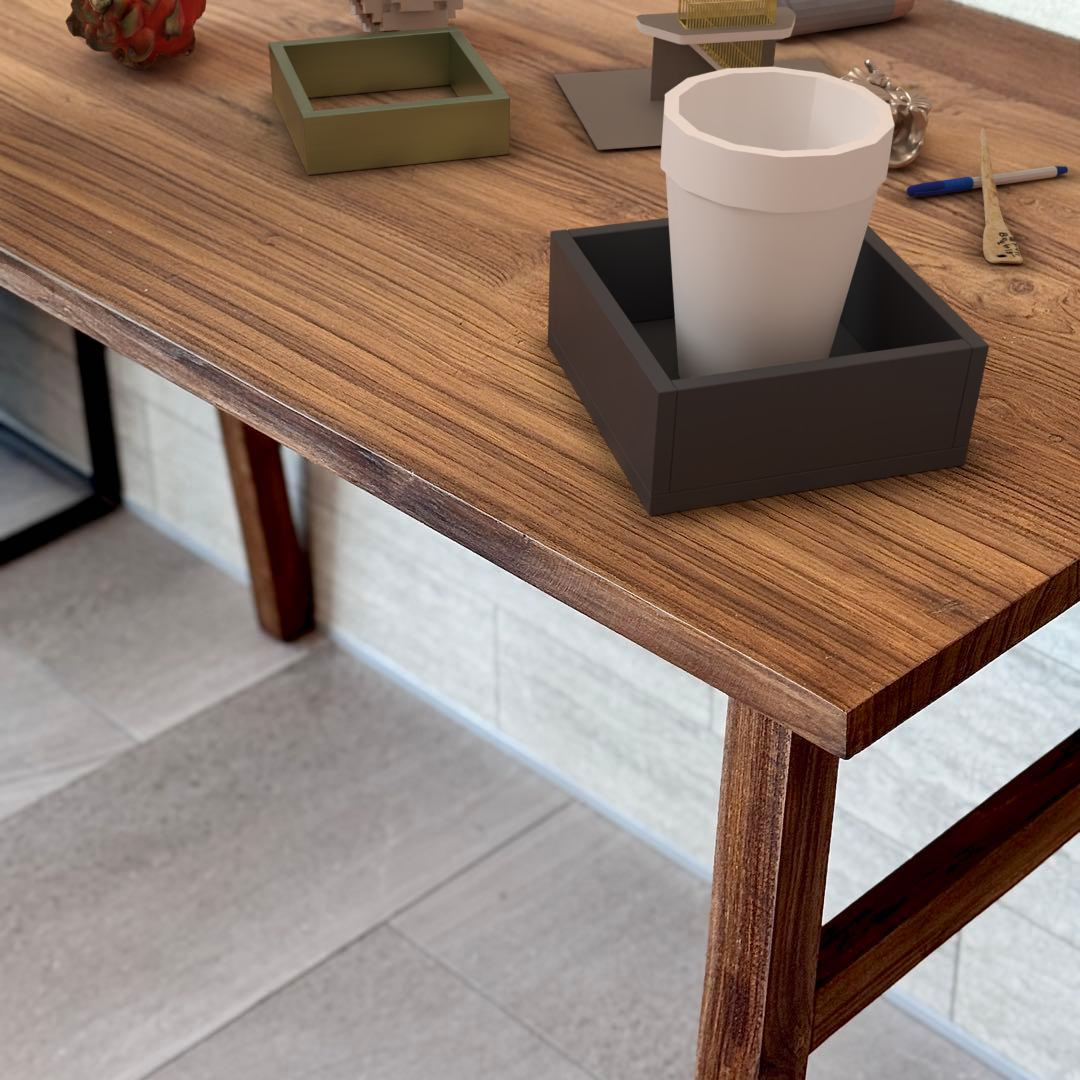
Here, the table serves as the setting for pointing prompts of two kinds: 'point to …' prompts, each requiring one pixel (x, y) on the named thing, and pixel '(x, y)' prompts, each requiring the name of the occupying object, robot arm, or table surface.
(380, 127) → the olive square frame
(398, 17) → the caramel apple
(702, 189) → the foam cup
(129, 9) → the dragon fruit
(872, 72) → the ornament
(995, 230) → the tool
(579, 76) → the platform
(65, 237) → the table surface
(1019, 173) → the ballpoint pen
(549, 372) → the table surface
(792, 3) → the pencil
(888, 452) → the dark grey square tray
